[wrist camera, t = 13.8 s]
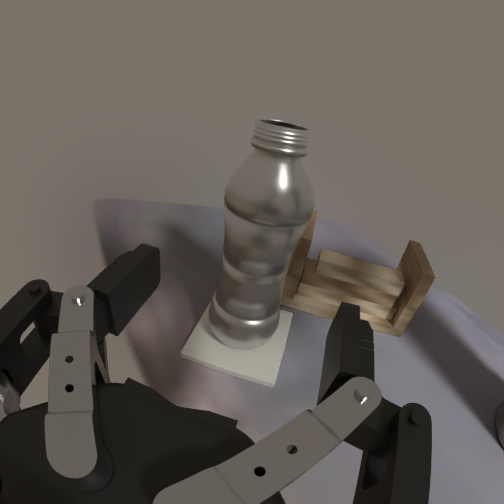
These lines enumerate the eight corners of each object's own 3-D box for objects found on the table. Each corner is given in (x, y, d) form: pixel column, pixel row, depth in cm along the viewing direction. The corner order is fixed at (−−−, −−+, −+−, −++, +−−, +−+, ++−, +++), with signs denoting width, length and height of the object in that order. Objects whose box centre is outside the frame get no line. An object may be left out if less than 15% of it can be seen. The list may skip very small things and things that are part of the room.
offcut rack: (393, 297, 39) (420, 243, 35) (400, 336, 33) (435, 277, 28) (288, 267, 42) (304, 207, 37) (277, 303, 35) (296, 236, 30)
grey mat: (291, 316, 33) (293, 313, 33) (273, 387, 25) (274, 384, 25) (216, 294, 35) (217, 290, 34) (180, 356, 26) (180, 352, 26)
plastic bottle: (215, 304, 32) (242, 111, 22) (276, 319, 32) (328, 129, 21) (198, 348, 27) (221, 119, 16) (269, 365, 26) (337, 143, 16)
